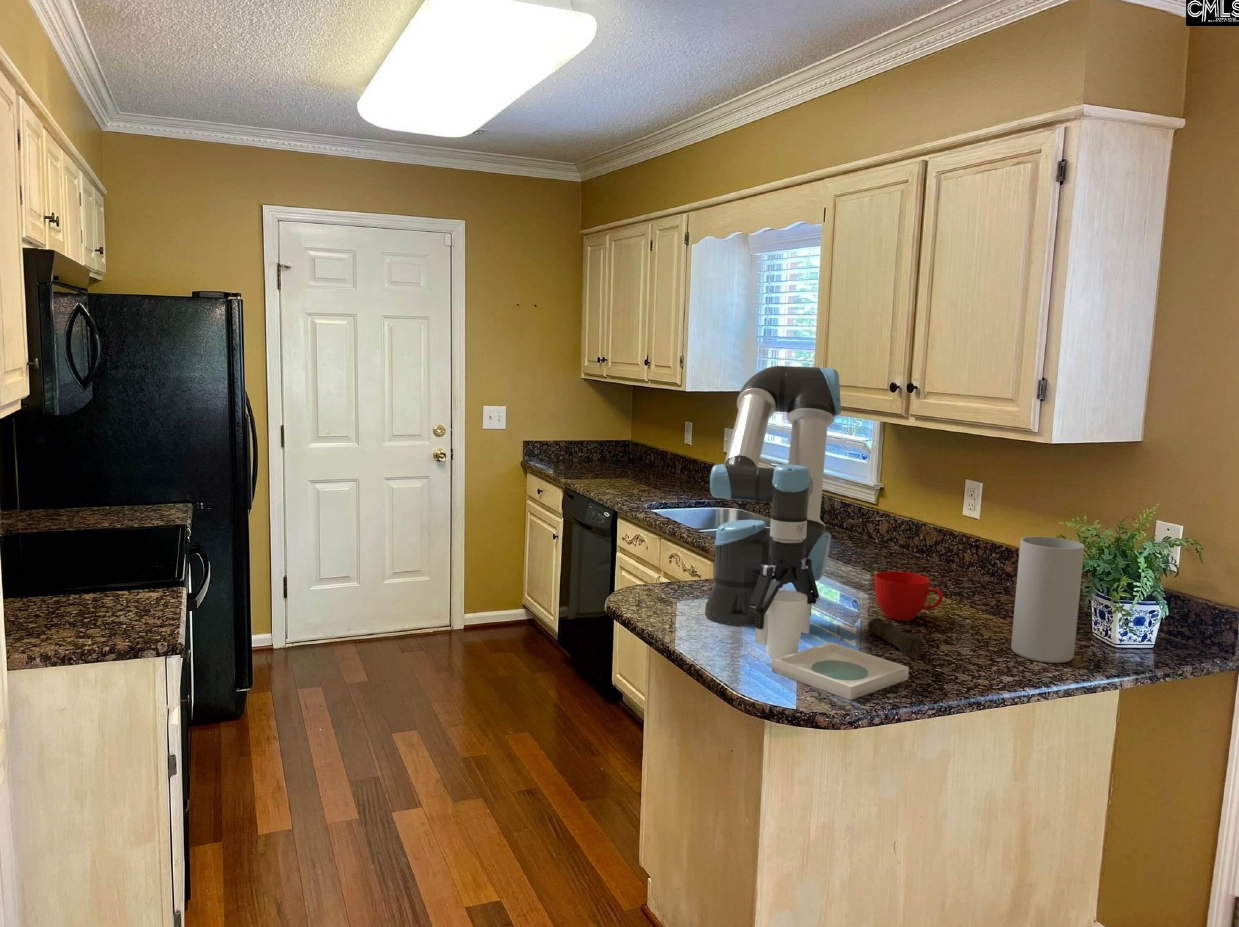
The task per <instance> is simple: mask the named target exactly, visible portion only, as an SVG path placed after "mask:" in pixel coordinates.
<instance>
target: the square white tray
mask: <svg viewBox="0 0 1239 927" xmlns="http://www.w3.org/2000/svg"><path fill="white" fill-rule="evenodd" d="M771 660H772V661H771V662H772V663H771V672H773V673H776V674H779V675H781V676H784V677H787V678H789V679H792V680H795V681H798V682H800V683H803V684H806V685H809V686H811V687H814V688H817V689H819V690H822V691H824V692H827V693H829V694H833V695H836V696H837V697H841V698H843V699H845V700H849V701H852V700H855V699H858V698H859V697H863V696H866V695H868V694H871V693H874V692H877V691H881V690H883V689H885V688H888V687H890V686H893V685H897V684H900V683H902V682H904V681H906V680H909V673H910V672H909V671H910V666H906V665H903V664H900V663H897V662H894V661H891V660H887V659H885V658H882V657H878V656H875V655H872V654H869V653H866V652H862V651H860V650H856V649H853V648H851V647H847V646H843V645H841V644H837V643H835V642H832V641H830V642H827V643H823V644H821V645H817V646H813V647H809V648H806V649H804V650H800V651H798V652H795V653H792V654H789V655H785V656H782V657H778V658H775V659H774V658H772V659H771Z"/></svg>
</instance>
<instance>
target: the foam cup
mask: <svg viewBox="0 0 1239 927" xmlns="http://www.w3.org/2000/svg"><path fill="white" fill-rule="evenodd" d="M806 609H807V595H805V594H803V593H800V592H797V591H796V590H792V589H791V590H790V589H779V590H778V592H777V594H776V596H775V597H774V599H773V601H772V603H771V605H770V606H769V608H768V610H767V612H766V613H767V614H769V621H768V639H767V645H765V649H766V650H765V652H766V655H767V656H768V657H769V658H772V659H775V658H778V657H782V656H785V655H789V654H792V653H795V652H799V651H798V650H799V645H800V641H801V636H802V632H801V631H802V626H803V620H804V615H805V610H806Z"/></svg>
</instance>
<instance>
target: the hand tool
mask: <svg viewBox="0 0 1239 927" xmlns="http://www.w3.org/2000/svg"><path fill="white" fill-rule="evenodd" d="M868 633H870V634H871V635H873V636H877V637H879V638H880V639H883V641H885V642H888V643H890V644H891V645H893V646H894V647H896V648H898V649H899V651H900V654H902V655H904V656H907V657H908V658H909V657H910V658H912V659H915V660H920V659H921V653H922V641H921V639H920V638H919V637H918V636H916V635H915V634H912V633H909V632H902V631H900V630H898V629H896V628H894V627H893V626H892V625H890V624H888V623H886V622H885V621H884V619H881V618H877V617H874V618H872V619H871V620H870V621H869V622H868Z"/></svg>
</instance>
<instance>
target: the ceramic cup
mask: <svg viewBox="0 0 1239 927" xmlns="http://www.w3.org/2000/svg"><path fill="white" fill-rule="evenodd" d="M930 580H931V579H929V577H926V576H924V575H922V574H918V573H914V572H913V573H912V572H907V571H899V570H898V571H897V570H889V571H887V570H886V571H879V572H876V573H875V574H874V595H875V600H876V604H877V605H878V607H879V608H880V610H881V612H882V613H883V614H884V616H885V617H886V618H887V619H890V620H893V621H901V622H907V621H913V620H914V618H915V617H917V616H918V615H919V613H920V612H921V611H924V610H929V609H930V610H931V609H934V608H936V607H938V606H939V605H941V604H942V602H943V599H944V594H943V592H942V591H941V590H940V589H938V588H934V587H932V588H930V585H931V581H930ZM932 592H934V593H936V594H938V600H937V602H936V603H934V604H931V605H926V603H927V599H928V595H929V594H931V593H932Z"/></svg>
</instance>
